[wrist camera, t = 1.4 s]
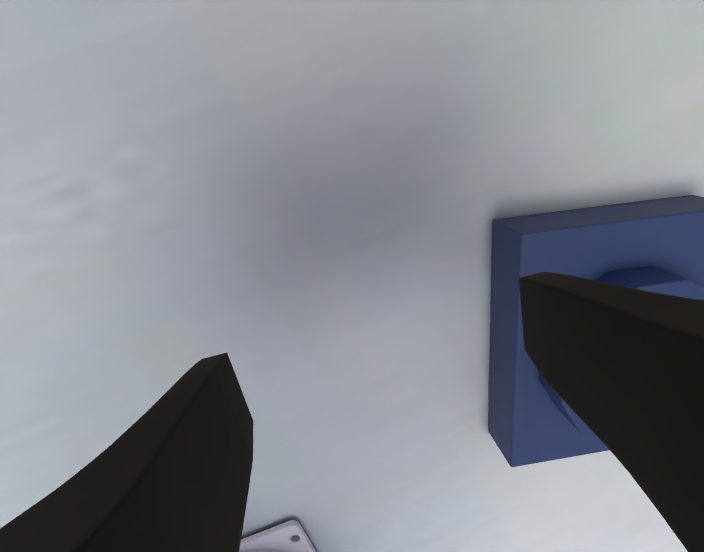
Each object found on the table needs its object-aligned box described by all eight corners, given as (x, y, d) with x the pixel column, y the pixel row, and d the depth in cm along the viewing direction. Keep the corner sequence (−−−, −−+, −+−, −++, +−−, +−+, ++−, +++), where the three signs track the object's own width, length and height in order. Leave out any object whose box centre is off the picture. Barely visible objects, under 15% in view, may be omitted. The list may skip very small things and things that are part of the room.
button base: (655, 403, 25) (728, 461, 21) (488, 431, 24) (529, 497, 20) (693, 194, 21) (794, 213, 17) (492, 219, 20) (545, 246, 16)
